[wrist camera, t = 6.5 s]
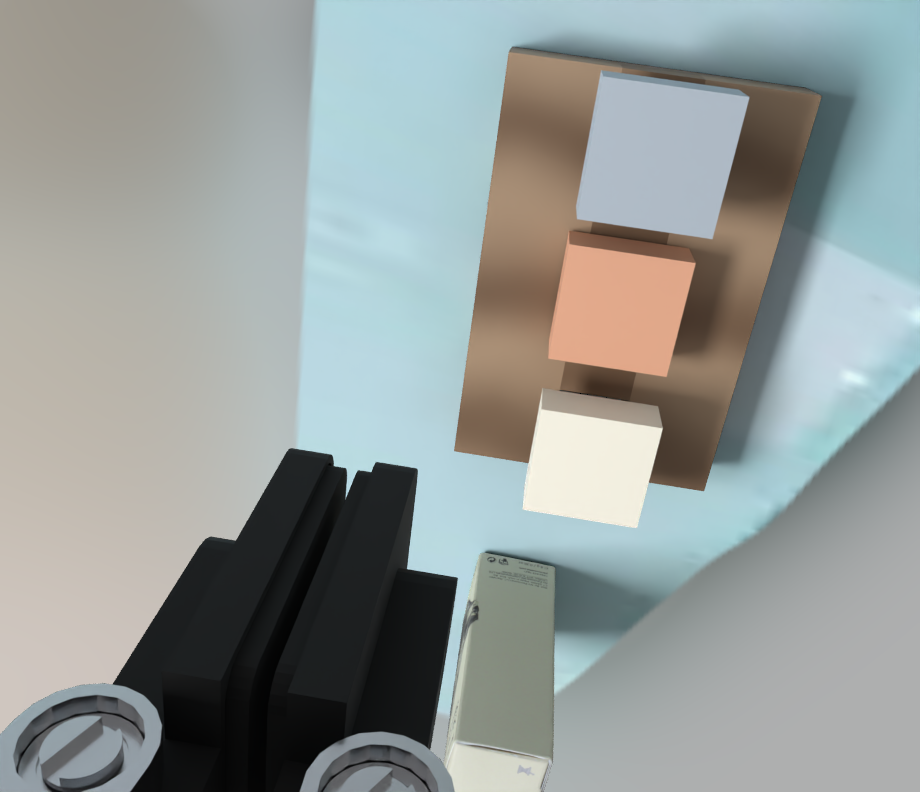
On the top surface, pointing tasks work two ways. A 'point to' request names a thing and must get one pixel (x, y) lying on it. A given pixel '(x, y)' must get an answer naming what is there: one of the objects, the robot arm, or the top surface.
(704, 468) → the walnut board
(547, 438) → the cream key
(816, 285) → the top surface
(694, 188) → the slate key
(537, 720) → the box
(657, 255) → the terracotta key
